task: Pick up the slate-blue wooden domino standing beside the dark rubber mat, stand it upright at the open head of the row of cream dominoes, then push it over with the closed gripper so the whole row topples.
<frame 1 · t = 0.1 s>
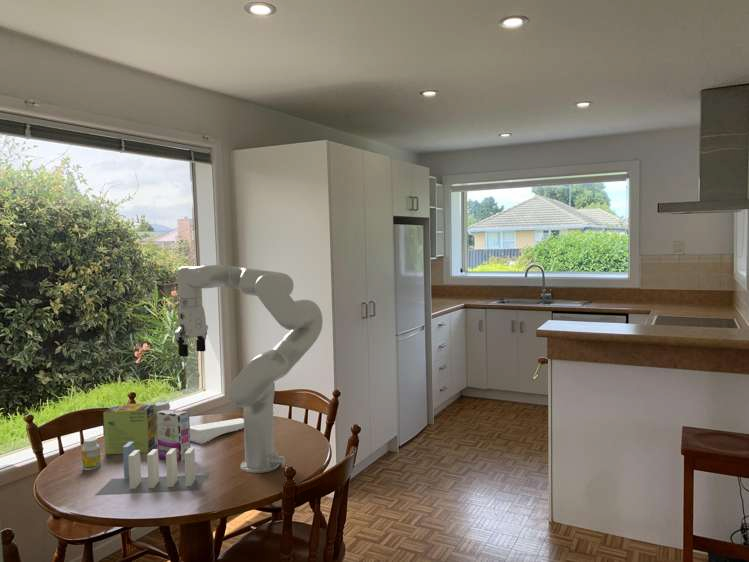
hand: (192, 353, 191), 37 cm above the table, tool pointing down, fingers open, 9 cm apart
protein box: (132, 449, 207), on the table
coffee cup: (159, 433, 224), on the table
domino 3: (154, 484, 172), resting on mat
supplement bottle: (91, 468, 188), on the table
candy bar box: (174, 459, 195), on the table
wall bracket: (221, 434, 223), on the table
mat: (154, 485, 172), on the table
domino 2: (135, 485, 172), resting on mat
domino placed: (129, 474, 181), on the table
domino 5: (190, 482, 172), resting on mat
domino 4: (172, 483, 172), resting on mat
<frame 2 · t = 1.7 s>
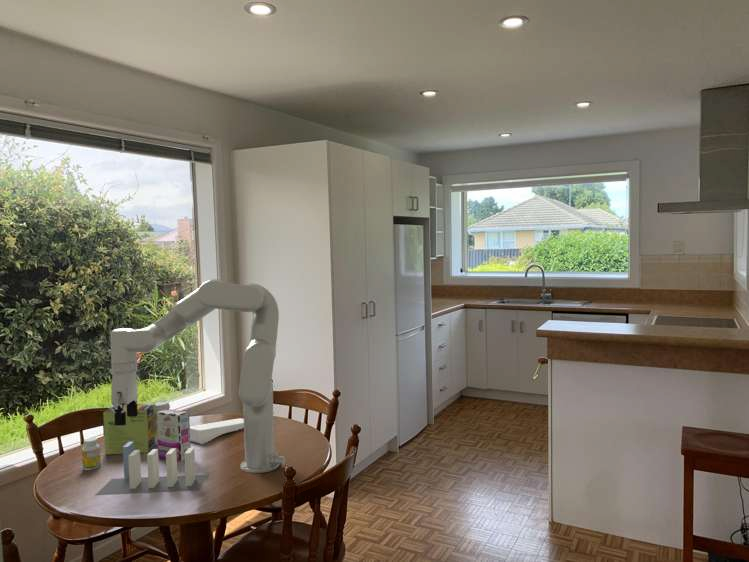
hand: (126, 420, 180), 18 cm above the table, tool pointing down, fingers open, 9 cm apart
nothing on the table moved.
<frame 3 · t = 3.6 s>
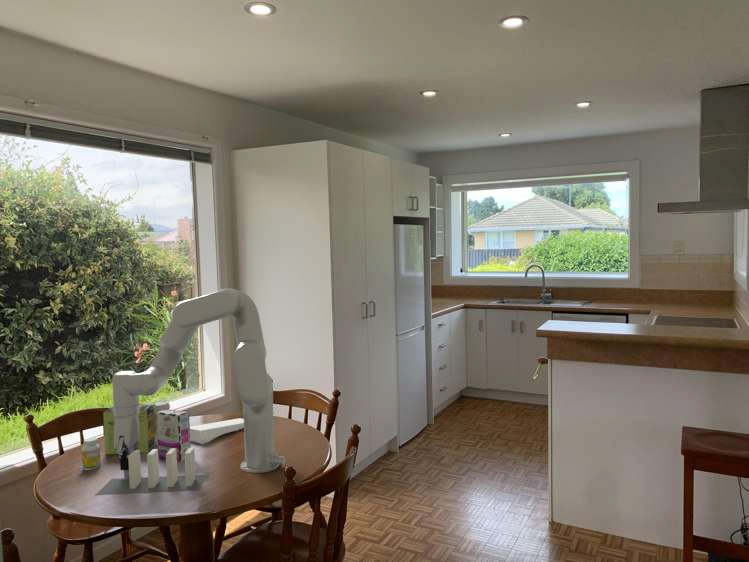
hand: (129, 465, 181), 3 cm above the table, tool pointing down, fingers closed on domino placed, 4 cm apart
domino placed: (129, 474, 181), on the table, touching gripper
everything else where it was.
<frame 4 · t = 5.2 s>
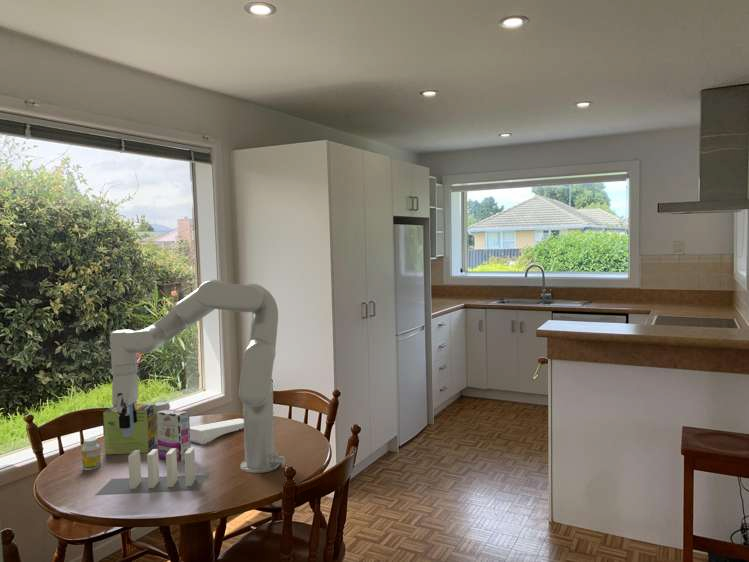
hand: (128, 424, 181), 16 cm above the table, tool pointing down, fingers closed on domino placed, 4 cm apart
domino placed: (128, 433, 181), point 13 cm above the table, touching gripper
everything else where it was.
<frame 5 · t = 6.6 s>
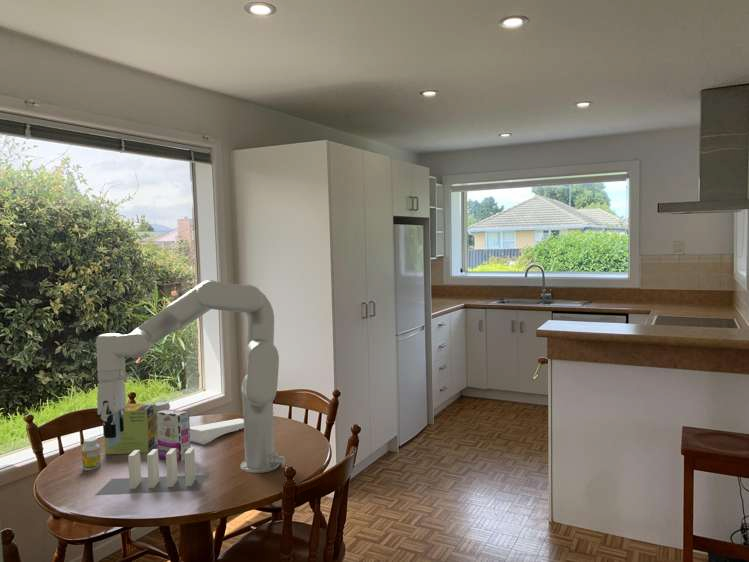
hand: (114, 433, 171), 17 cm above the table, tool pointing down, fingers closed on domino placed, 4 cm apart
domino placed: (114, 443, 171), point 14 cm above the table, touching gripper
everything else where it was.
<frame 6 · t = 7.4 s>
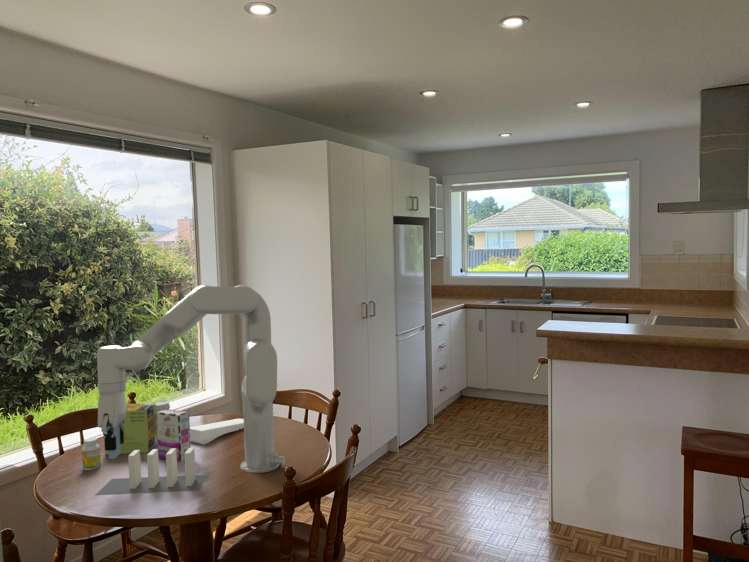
hand: (114, 446, 171), 13 cm above the table, tool pointing down, fingers closed on domino placed, 4 cm apart
domino placed: (114, 455, 171), point 10 cm above the table, touching gripper
everything else where it was.
when the fingers open (4 cm above the table, at t = 9.6 s): domino placed stays where it is, resting on mat.
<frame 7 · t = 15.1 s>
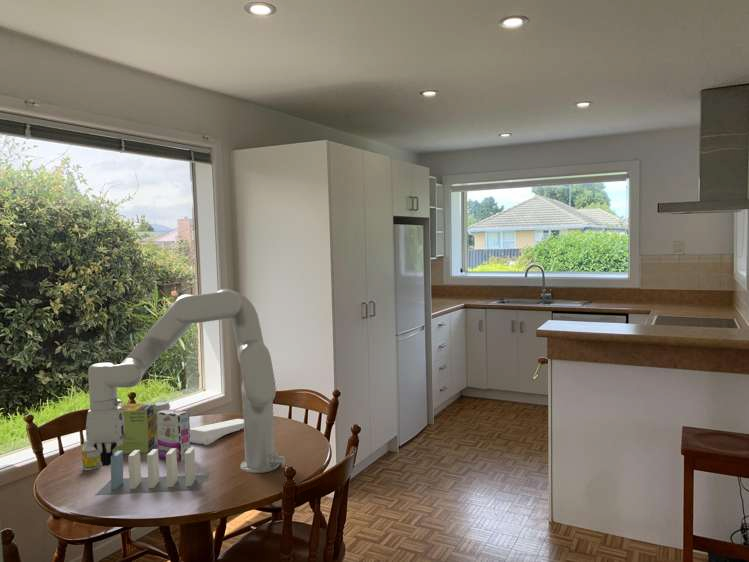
hand: (107, 464, 171), 7 cm above the table, tool pointing down, fingers closed
domino placed: (117, 485, 171), point 1 cm above the table, touching gripper, mat
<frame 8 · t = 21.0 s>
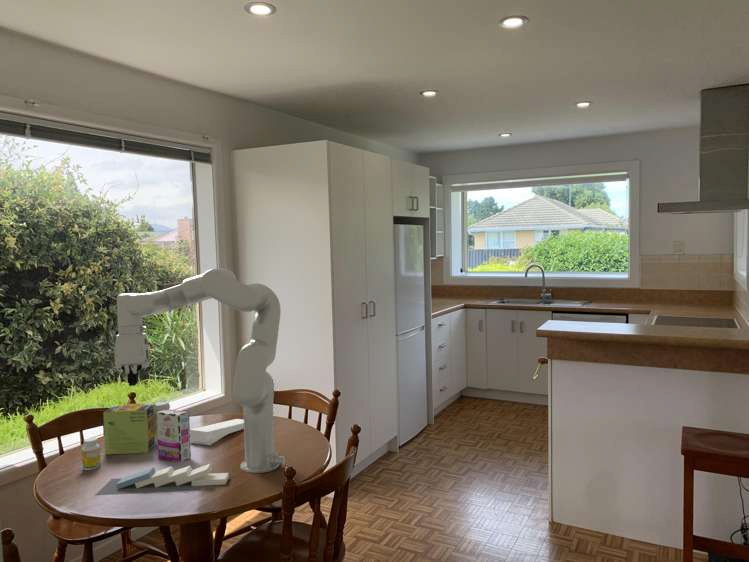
hand: (133, 384, 189), 27 cm above the table, tool pointing down, fingers closed
domino 3: (157, 481, 172), point 1 cm above the table, tilted 73°, touching domino 2, domino 4, mat
domino 2: (138, 482, 172), point 1 cm above the table, tilted 73°, touching domino 3, domino placed, mat
domino placed: (120, 483, 171), point 1 cm above the table, tilted 73°, touching domino 2, mat
domino 5: (193, 480, 172), point 1 cm above the table, tilted 90°, touching domino 4, mat
domino 4: (178, 480, 172), point 1 cm above the table, tilted 72°, touching domino 3, domino 5
at the end: domino 5 tilted 90°; domino placed 0.9 cm from the target spot on the mat, point 1.3 cm above the mat's base; domino placed tilted 73° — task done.
